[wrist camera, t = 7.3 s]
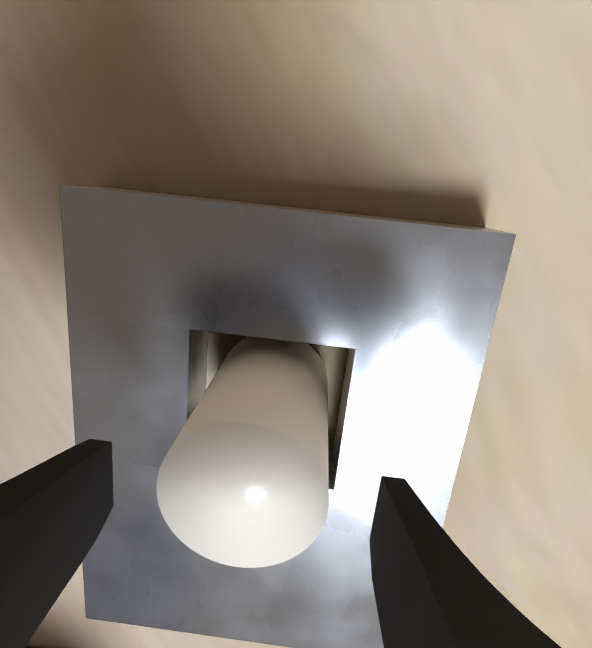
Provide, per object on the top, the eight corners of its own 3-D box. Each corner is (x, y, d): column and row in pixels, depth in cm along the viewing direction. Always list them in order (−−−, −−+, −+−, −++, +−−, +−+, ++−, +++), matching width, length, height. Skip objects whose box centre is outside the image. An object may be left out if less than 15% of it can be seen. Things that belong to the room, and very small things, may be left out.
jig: (398, 609, 20) (408, 664, 18) (113, 569, 21) (85, 618, 19) (486, 227, 15) (516, 234, 13) (100, 186, 16) (59, 184, 13)
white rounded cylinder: (317, 437, 18) (312, 580, 11) (215, 420, 18) (151, 551, 12) (336, 341, 17) (344, 439, 10) (226, 322, 17) (161, 407, 10)
